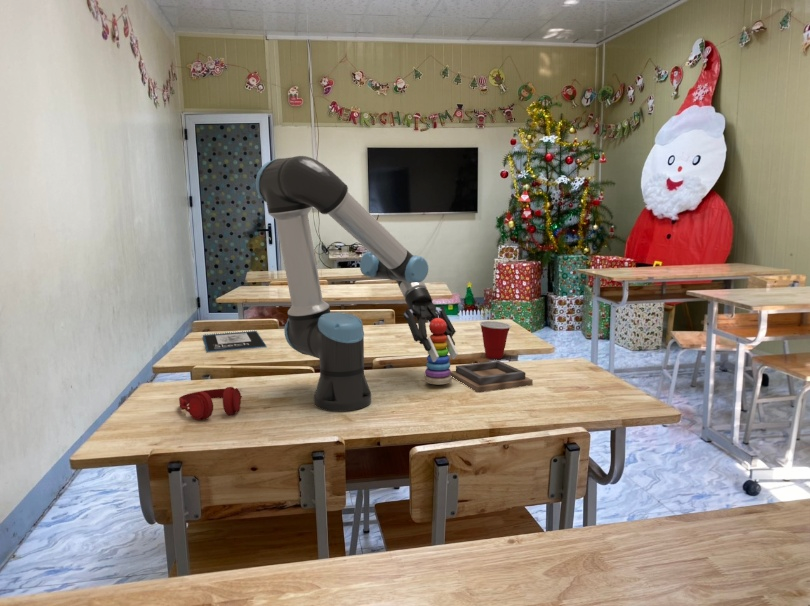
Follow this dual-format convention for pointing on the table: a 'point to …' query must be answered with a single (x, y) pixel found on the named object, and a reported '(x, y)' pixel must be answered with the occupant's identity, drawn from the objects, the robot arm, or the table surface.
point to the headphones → (210, 402)
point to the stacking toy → (440, 368)
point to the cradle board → (490, 376)
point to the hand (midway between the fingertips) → (445, 357)
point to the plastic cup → (494, 338)
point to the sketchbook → (233, 341)
